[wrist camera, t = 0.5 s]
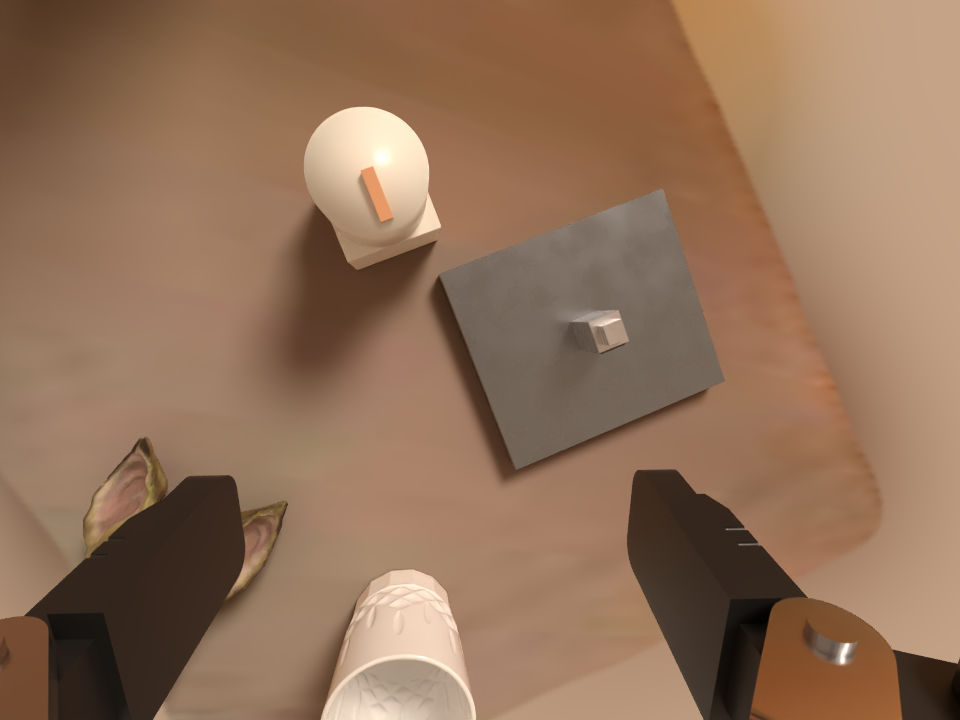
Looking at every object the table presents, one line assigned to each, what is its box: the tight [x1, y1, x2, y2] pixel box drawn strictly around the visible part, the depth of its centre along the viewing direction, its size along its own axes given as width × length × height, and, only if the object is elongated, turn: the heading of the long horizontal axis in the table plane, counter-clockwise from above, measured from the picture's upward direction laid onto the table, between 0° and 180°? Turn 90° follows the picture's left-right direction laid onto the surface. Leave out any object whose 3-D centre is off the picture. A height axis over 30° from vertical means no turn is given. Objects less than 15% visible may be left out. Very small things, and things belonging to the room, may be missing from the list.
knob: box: [304, 107, 441, 270], centre depth 28 cm, size 6×6×10 cm
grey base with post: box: [438, 188, 725, 470], centre depth 32 cm, size 14×16×6 cm
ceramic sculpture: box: [83, 436, 288, 600], centre depth 29 cm, size 11×9×15 cm
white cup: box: [321, 569, 476, 720], centre depth 30 cm, size 8×8×10 cm
